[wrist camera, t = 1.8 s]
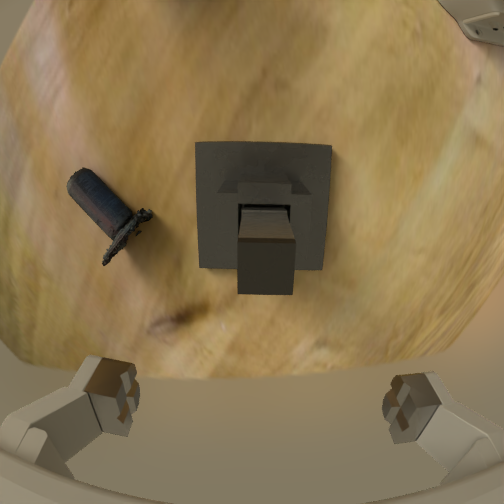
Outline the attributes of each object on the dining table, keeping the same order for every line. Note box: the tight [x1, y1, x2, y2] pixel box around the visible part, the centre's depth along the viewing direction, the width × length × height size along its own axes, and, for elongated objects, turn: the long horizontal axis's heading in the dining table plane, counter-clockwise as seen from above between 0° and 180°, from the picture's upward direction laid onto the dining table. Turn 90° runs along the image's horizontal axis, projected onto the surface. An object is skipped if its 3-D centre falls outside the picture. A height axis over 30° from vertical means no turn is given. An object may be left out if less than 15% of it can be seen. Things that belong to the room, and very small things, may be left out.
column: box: [237, 204, 296, 295], centre depth 31 cm, size 4×4×17 cm
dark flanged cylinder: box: [67, 167, 152, 266], centre depth 38 cm, size 9×8×12 cm
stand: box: [195, 141, 332, 270], centre depth 36 cm, size 16×16×10 cm
